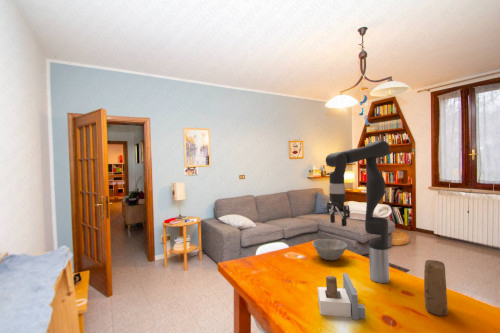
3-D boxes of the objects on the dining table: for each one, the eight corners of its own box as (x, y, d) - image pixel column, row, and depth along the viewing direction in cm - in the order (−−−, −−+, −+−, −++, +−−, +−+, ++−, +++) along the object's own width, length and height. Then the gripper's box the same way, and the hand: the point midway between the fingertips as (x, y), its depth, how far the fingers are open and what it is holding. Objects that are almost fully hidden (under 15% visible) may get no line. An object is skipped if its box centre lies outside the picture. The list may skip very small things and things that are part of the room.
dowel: (327, 302, 109) (325, 275, 109) (337, 303, 108) (336, 276, 108) (327, 307, 104) (326, 279, 105) (338, 308, 103) (336, 280, 104)
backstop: (343, 293, 117) (342, 273, 117) (354, 294, 116) (353, 273, 116) (352, 319, 97) (352, 294, 97) (366, 320, 96) (365, 295, 96)
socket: (318, 299, 113) (317, 286, 113) (345, 301, 111) (345, 288, 111) (320, 315, 101) (320, 300, 101) (351, 317, 99) (350, 303, 99)
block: (447, 319, 95) (446, 268, 95) (424, 312, 100) (422, 264, 100) (447, 306, 104) (445, 260, 104) (425, 301, 109) (424, 256, 109)
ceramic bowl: (342, 252, 172) (341, 238, 172) (352, 265, 149) (352, 249, 149) (310, 252, 174) (309, 238, 174) (315, 265, 151) (315, 249, 152)
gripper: (353, 193, 117) (354, 226, 117) (334, 190, 131) (335, 220, 131) (340, 194, 115) (341, 228, 115) (322, 191, 128) (323, 222, 128)
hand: (338, 224), depth 123 cm, fingers open, 8 cm apart
